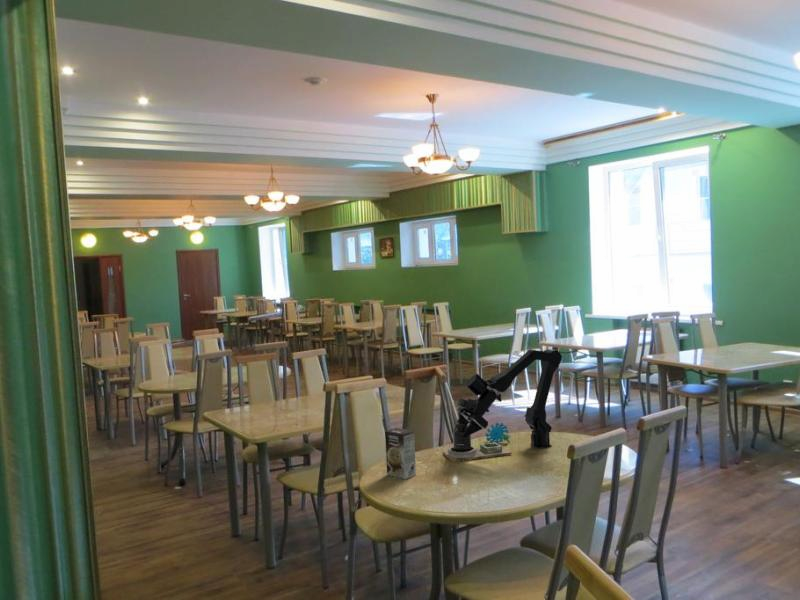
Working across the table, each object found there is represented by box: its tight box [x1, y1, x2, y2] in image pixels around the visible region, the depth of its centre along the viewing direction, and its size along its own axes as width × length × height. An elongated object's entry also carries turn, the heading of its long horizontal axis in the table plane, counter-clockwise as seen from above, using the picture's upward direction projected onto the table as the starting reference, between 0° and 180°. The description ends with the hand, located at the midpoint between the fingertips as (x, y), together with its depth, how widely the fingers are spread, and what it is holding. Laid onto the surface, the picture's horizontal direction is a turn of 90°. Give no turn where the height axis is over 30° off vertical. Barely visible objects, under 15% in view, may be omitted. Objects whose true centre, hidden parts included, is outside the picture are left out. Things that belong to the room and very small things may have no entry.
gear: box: [484, 422, 511, 444], centre depth 278 cm, size 11×6×10 cm
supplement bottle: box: [452, 422, 472, 452], centre depth 258 cm, size 7×7×12 cm
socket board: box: [442, 442, 512, 463], centre depth 260 cm, size 24×12×3 cm, turn 105°
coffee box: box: [384, 427, 417, 480], centre depth 238 cm, size 9×6×16 cm
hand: (458, 434), depth 258 cm, fingers open, 9 cm apart
